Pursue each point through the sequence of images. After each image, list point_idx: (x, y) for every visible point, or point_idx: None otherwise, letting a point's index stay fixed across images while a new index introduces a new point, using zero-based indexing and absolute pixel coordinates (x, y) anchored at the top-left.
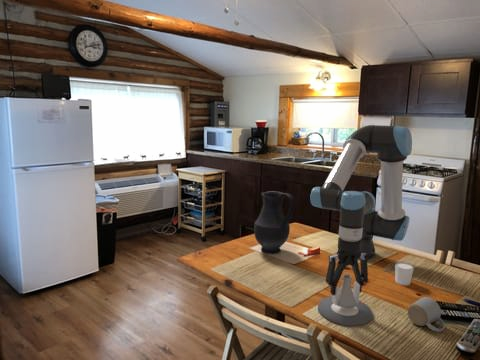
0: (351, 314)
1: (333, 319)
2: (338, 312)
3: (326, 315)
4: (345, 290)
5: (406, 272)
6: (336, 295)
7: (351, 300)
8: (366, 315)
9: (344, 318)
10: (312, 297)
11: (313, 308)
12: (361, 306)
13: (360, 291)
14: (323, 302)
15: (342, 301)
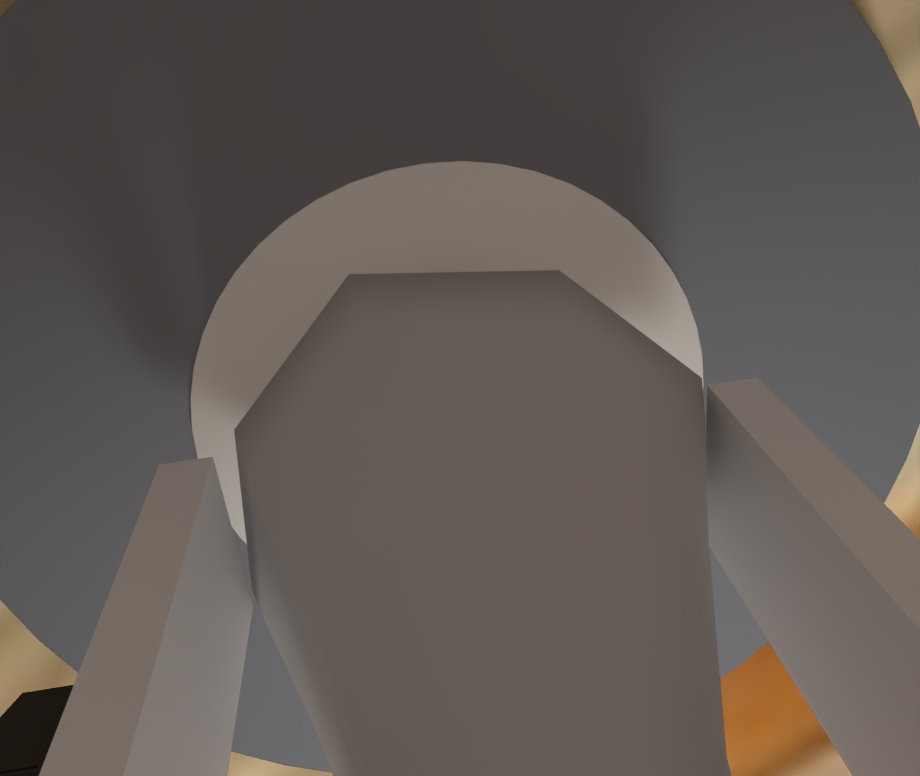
0: (406, 202)
1: (868, 45)
2: (642, 290)
3: (916, 208)
4: (641, 661)
5: None
6: (888, 515)
7: (416, 400)
8: (71, 142)
9: (624, 61)
10: (757, 756)
11: (909, 496)
12: (79, 486)
13: (27, 713)
14: (729, 610)
15: (644, 407)
